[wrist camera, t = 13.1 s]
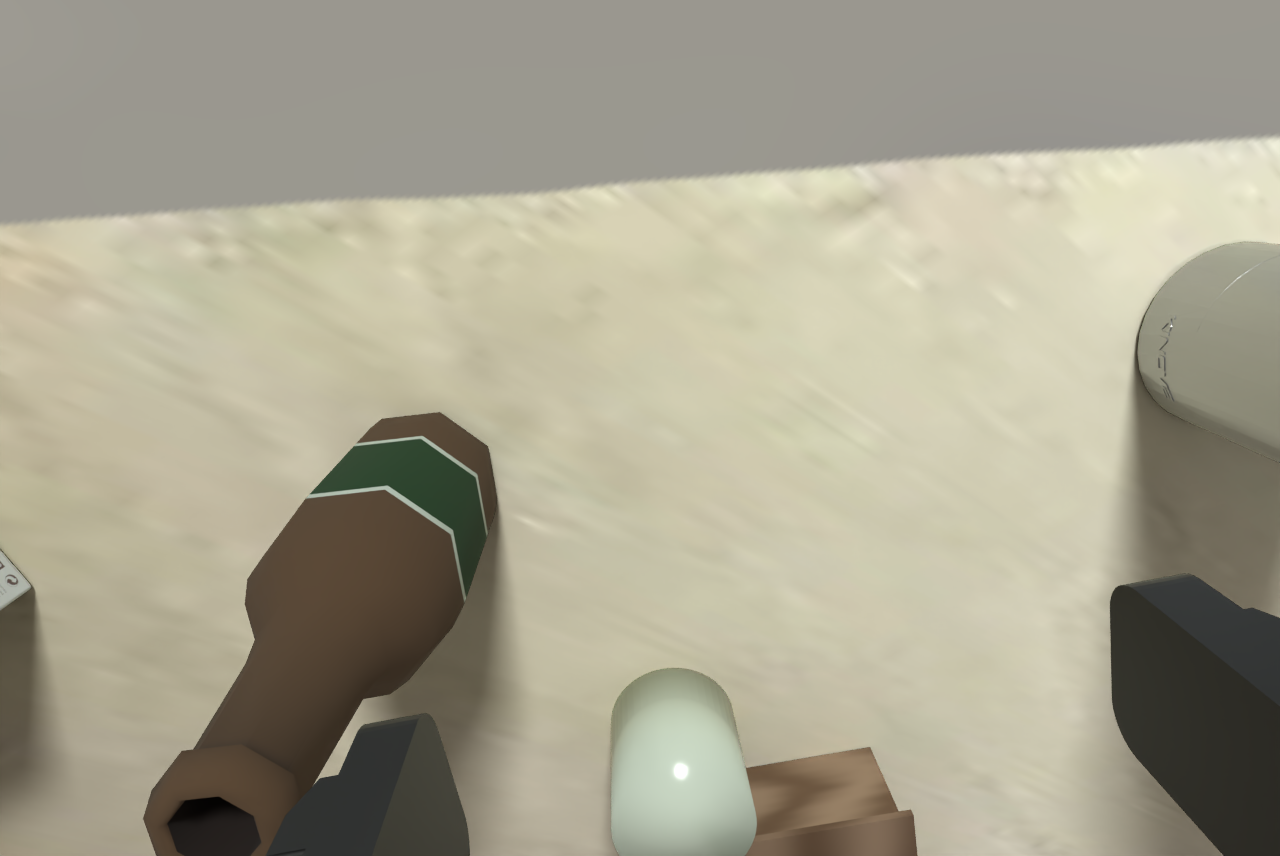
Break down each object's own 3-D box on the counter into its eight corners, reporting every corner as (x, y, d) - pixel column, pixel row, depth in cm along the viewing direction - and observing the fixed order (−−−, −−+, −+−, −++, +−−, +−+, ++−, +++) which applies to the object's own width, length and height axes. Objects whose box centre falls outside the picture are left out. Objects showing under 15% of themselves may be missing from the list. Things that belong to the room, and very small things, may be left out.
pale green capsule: (723, 658, 47) (746, 754, 39) (741, 760, 49) (765, 871, 41) (600, 679, 47) (598, 780, 39) (623, 781, 49) (625, 895, 41)
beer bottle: (483, 563, 44) (345, 988, 21) (336, 527, 43) (28, 930, 20) (518, 428, 42) (406, 740, 19) (364, 387, 41) (55, 664, 18)
